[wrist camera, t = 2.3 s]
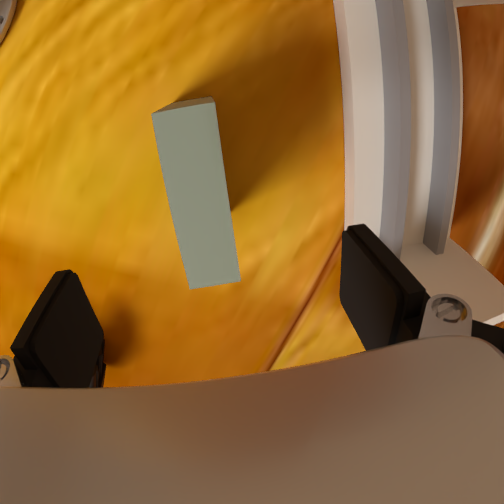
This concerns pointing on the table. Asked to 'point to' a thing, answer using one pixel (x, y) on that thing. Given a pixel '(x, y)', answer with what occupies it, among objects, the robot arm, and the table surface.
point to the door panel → (197, 190)
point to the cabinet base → (409, 139)
